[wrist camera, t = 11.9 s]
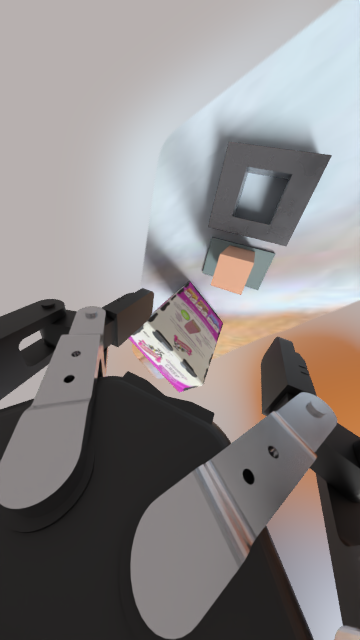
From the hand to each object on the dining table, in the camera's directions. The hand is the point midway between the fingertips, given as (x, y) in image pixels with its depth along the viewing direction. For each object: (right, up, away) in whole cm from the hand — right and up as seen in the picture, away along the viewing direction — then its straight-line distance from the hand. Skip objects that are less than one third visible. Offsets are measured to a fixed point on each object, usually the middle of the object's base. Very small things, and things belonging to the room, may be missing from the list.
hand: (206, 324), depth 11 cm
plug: (+8, +10, +17) cm, 21 cm away
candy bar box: (+2, +3, +25) cm, 25 cm away
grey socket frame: (+9, +17, +13) cm, 23 cm away
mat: (+8, +10, +18) cm, 22 cm away
